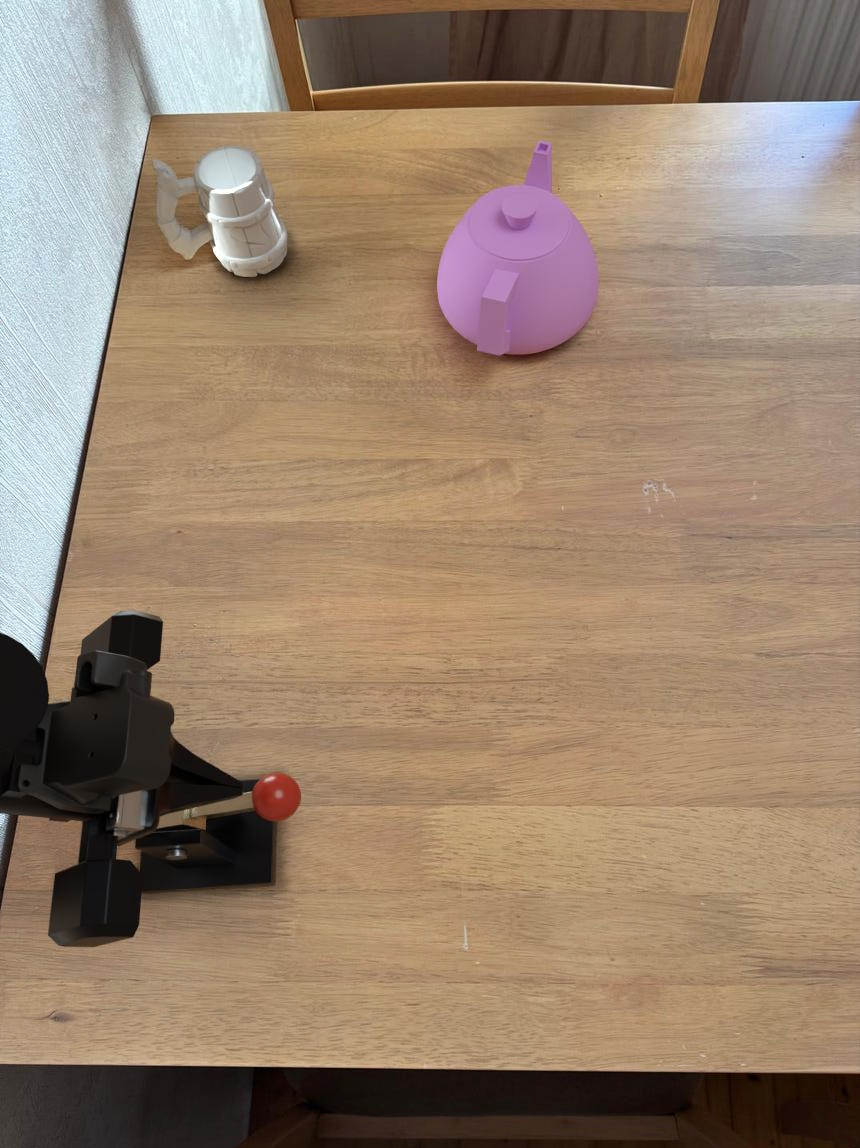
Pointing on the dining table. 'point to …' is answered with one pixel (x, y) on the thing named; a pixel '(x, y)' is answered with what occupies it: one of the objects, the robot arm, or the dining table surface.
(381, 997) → the dining table surface
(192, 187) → the mug
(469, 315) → the teapot
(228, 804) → the lever
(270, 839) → the switch bracket
